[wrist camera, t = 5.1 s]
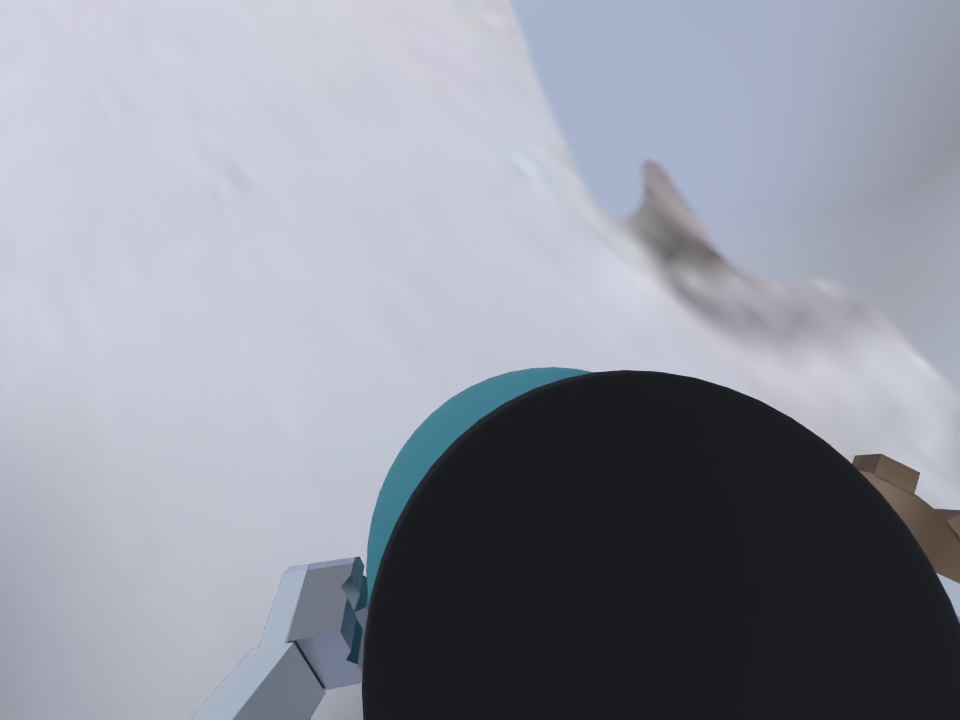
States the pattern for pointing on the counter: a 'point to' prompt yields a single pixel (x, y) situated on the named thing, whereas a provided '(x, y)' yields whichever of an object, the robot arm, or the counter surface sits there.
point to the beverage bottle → (643, 565)
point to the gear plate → (916, 512)
